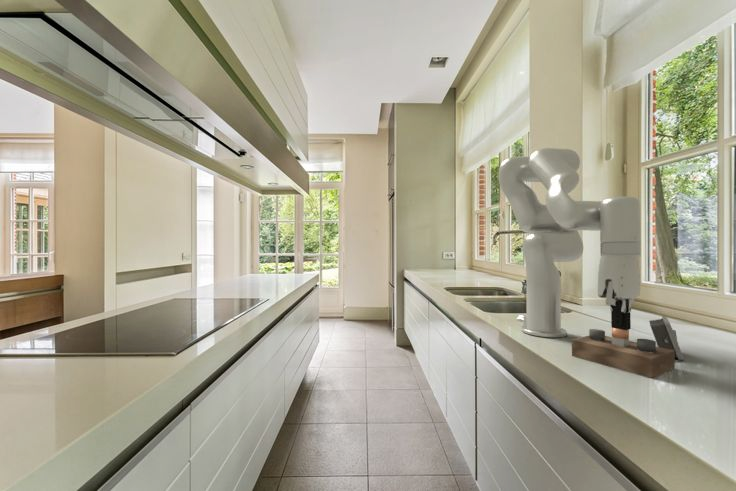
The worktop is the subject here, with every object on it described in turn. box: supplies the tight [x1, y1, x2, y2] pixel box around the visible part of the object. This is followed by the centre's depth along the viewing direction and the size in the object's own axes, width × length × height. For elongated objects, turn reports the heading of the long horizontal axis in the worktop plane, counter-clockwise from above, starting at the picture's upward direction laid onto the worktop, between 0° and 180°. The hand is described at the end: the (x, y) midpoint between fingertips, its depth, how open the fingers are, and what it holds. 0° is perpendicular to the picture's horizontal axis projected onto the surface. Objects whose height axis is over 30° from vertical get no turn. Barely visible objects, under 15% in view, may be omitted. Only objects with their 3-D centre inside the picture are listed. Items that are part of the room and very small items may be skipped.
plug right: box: [636, 338, 657, 354], centre depth 73 cm, size 3×3×6 cm
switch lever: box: [588, 328, 606, 342], centre depth 82 cm, size 3×3×6 cm
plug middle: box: [611, 327, 630, 347], centre depth 78 cm, size 3×3×6 cm
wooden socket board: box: [571, 335, 676, 379], centre depth 78 cm, size 16×11×4 cm
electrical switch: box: [648, 315, 684, 361], centre depth 83 cm, size 9×5×9 cm, turn 141°
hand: (620, 328), depth 77 cm, fingers closed
